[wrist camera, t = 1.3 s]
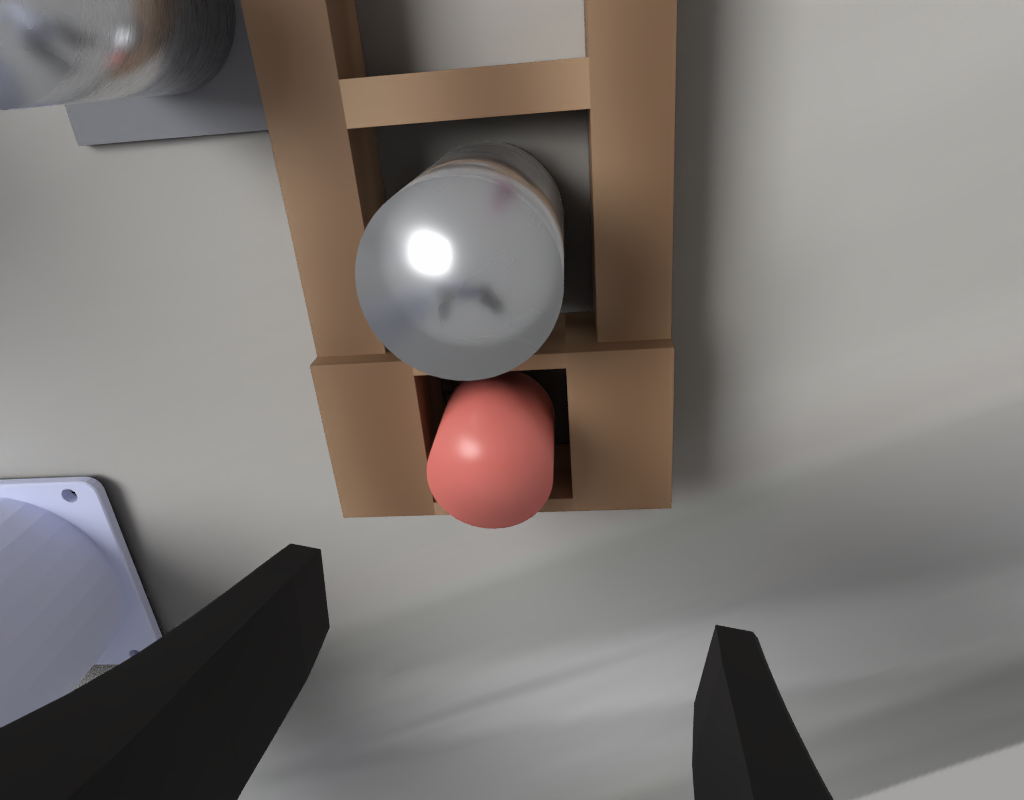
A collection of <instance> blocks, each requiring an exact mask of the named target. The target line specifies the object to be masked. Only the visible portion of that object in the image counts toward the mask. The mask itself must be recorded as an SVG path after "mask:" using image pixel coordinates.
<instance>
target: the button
mask: <svg viewBox="0 0 1024 800" xmlns="http://www.w3.org/2000/svg"><path fill="white" fill-rule="evenodd" d="M554 428H555V414H554V408H553V405H552V402H551V400H550V397H549V396H548V394H547V392H546V391H545V390H544V389H543V387H542V386H541V385H540V384H539V383H538V382H537V381H535V380H534V379H533V378H531V377H530V376H528V375H526V374H524V373H522V372H519V371H508V372H506V373H503V374H500V375H497V376H495V377H490V378H486V379H481V380H472V381H461V382H460V383H459V384H458V385H457V386H456V387H455V388H454V390H453V391H452V393H451V395H450V397H449V399H448V402H447V405H446V408H445V411H444V414H443V417H442V420H441V422H440V425H439V428H438V431H437V434H436V437H435V440H434V443H433V446H432V449H431V452H430V455H429V458H428V462H427V471H426V472H427V480H428V485H429V488H430V490H431V493H432V494H433V496H434V498H435V499H436V501H437V502H438V503H439V505H440V506H441V507H442V508H443V509H444V510H445V511H446V512H448V513H449V514H450V515H452V516H453V517H455V518H456V519H458V520H460V521H462V522H464V523H467V524H469V525H472V526H477V527H481V528H495V529H496V528H505V527H510V526H514V525H517V524H519V523H522V522H524V521H526V520H528V519H529V518H531V517H532V516H533V515H535V514H536V513H537V512H538V511H539V510H540V509H541V508H542V507H543V505H544V504H545V503H546V501H547V499H548V497H549V495H550V493H551V489H552V485H553V465H554Z"/></svg>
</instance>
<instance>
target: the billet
mask: <svg viewBox="0 0 1024 800" xmlns="http://www.w3.org/2000/svg"><path fill="white" fill-rule="evenodd" d="M235 24H236V14H235V4H234V0H0V110H8V109H19V108H31V107H42V106H53V105H64V104H75V103H86V102H97V101H108V100H119V99H131V98H142V97H153V96H164V95H175V94H182V93H187V92H190V91H193V90H196V89H198V88H200V87H201V86H203V85H205V84H206V83H208V82H209V81H210V80H212V79H213V78H214V76H215V75H216V74H217V73H218V72H219V71H220V70H221V68H222V67H223V65H224V64H225V62H226V60H227V58H228V56H229V54H230V51H231V47H232V44H233V40H234V35H235Z"/></svg>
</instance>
